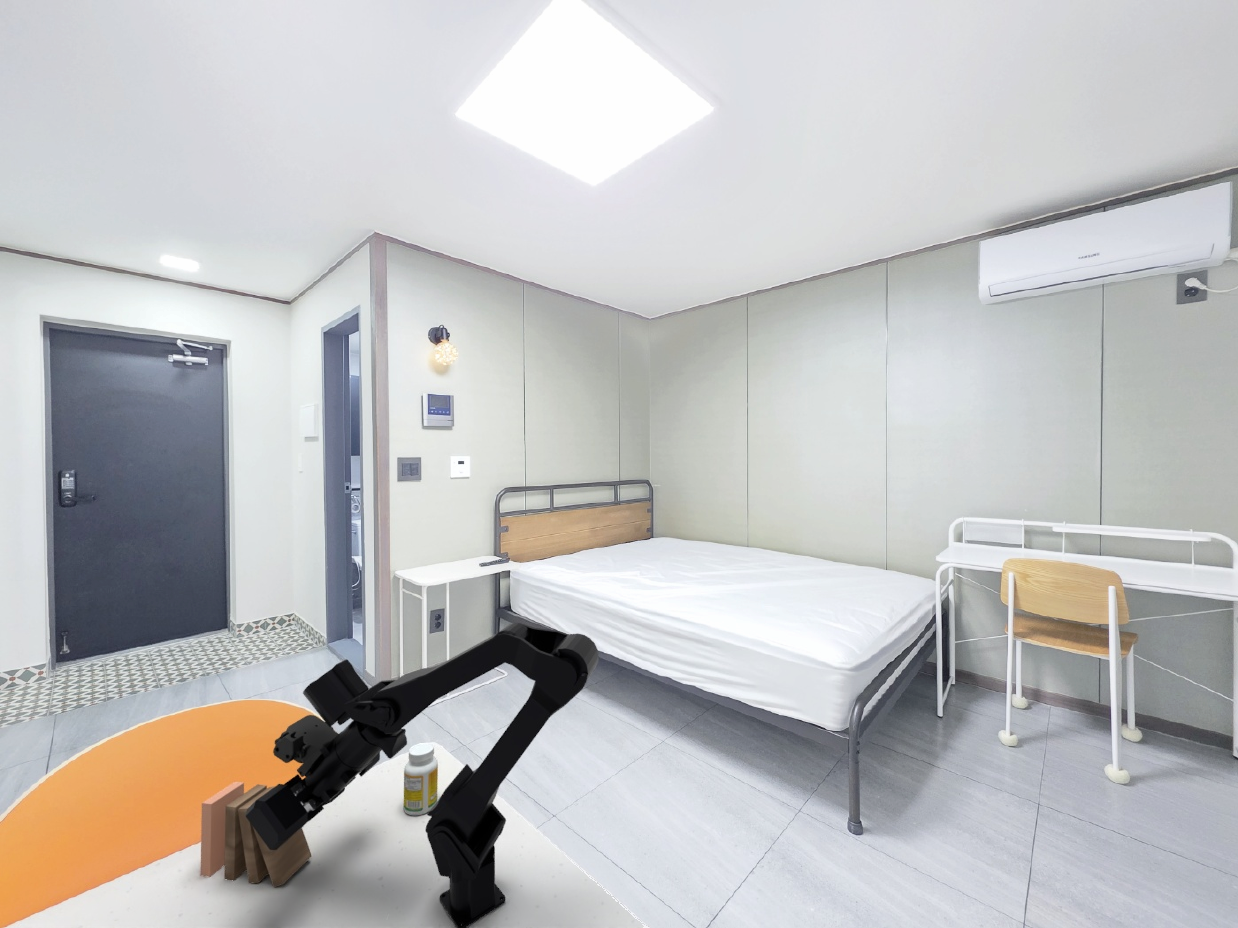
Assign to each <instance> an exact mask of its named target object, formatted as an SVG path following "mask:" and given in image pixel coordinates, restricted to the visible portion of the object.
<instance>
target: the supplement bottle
mask: <svg viewBox="0 0 1238 928" xmlns="http://www.w3.org/2000/svg"><path fill="white" fill-rule="evenodd" d="M438 763H439V762H438V759H437V757H436V756H435V746H434V744H433V743H431V742H421V743H417V744H414V745H413V746H411V747H410V748H409V749H408V761H407V762H406V763H405V765H404V768H403V769H404V770H403V811H404V812H405V813H406V814H407V815H409V816H414V817H415V816H420V815H424V814H427V813H428V812H429V811H430V809H431V808H432V807H433V806H434V805H435V803H436V802H437V801H438V781H439V779H438V778H439V777H438V776H439V775H438V773H439V772H438V771H439V770H438V769H439V764H438Z"/></svg>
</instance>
